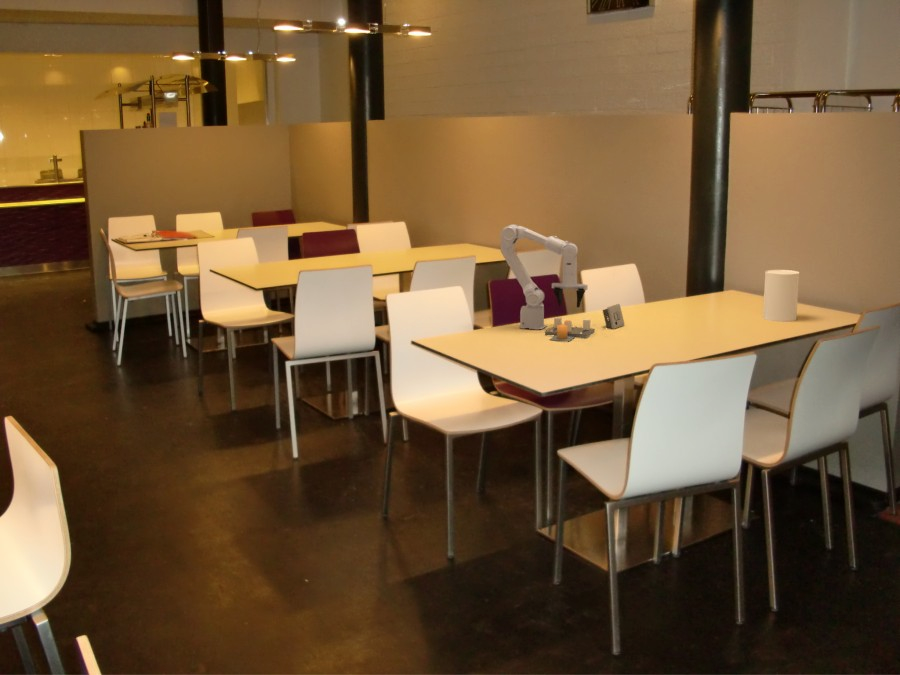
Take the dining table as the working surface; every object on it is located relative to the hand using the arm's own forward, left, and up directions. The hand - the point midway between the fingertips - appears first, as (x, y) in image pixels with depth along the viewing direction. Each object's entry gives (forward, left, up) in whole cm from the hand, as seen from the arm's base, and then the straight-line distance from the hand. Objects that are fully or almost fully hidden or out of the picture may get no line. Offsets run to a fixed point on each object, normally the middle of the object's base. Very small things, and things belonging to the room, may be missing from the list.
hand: (569, 306), depth 374 cm
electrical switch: (+16, +10, -10) cm, 21 cm away
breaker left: (-3, -6, -8) cm, 10 cm away
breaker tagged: (+3, -12, -8) cm, 15 cm away
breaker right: (+9, -6, -8) cm, 13 cm away
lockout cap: (+3, -20, -9) cm, 22 cm away
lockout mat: (+3, -20, -9) cm, 22 cm away
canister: (+78, +50, -10) cm, 93 cm away
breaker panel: (+3, -9, -9) cm, 13 cm away
